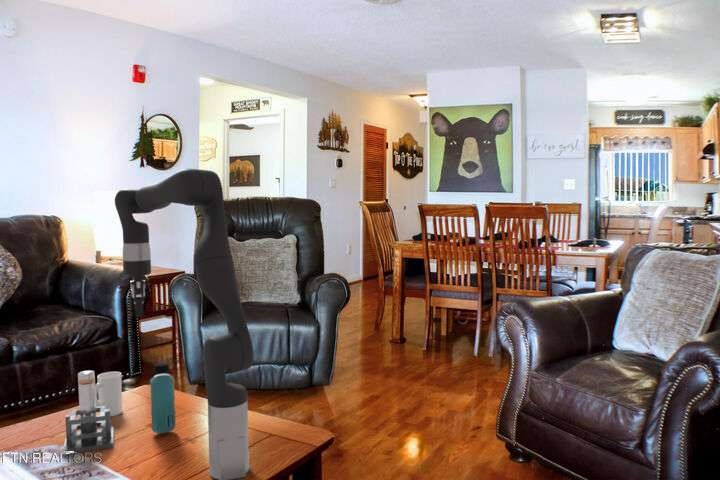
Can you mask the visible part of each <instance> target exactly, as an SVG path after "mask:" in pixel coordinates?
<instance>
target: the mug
mask: <svg viewBox="0 0 720 480" xmlns="http://www.w3.org/2000/svg"><path fill="white" fill-rule="evenodd" d="M96 378H97V383H95V395H96V407H98V406H106V409H110V417H115V416H118V415H120V414H121V413H122V412H123V409H122V408H123V401H122V399H123V397H122V396H123V395H122V394H123V393H122V392H123V391H122V388H123V387H122V385H123V384H122V372H120V371H107V372H102V373H100V374H98V375H97V377H96Z"/></svg>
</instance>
